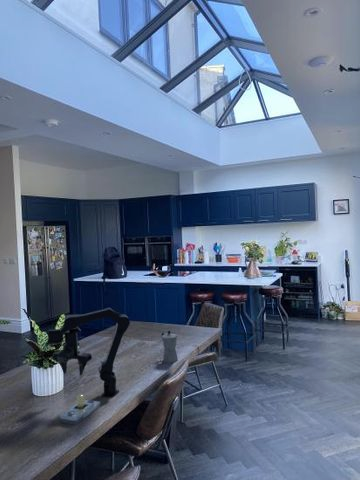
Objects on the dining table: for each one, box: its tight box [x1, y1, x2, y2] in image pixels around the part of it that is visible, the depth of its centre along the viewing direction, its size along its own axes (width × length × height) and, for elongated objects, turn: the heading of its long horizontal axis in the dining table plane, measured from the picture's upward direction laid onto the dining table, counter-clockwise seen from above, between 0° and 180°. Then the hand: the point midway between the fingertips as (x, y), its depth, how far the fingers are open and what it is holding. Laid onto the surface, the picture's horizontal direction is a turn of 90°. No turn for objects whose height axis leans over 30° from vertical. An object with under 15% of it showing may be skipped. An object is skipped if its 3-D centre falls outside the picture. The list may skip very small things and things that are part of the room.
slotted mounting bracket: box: [59, 399, 101, 426], centre depth 165 cm, size 18×8×4 cm, turn 159°
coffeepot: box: [161, 330, 178, 364], centre depth 229 cm, size 15×9×18 cm, turn 33°
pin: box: [76, 393, 85, 410], centre depth 165 cm, size 3×3×8 cm
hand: (72, 374), depth 179 cm, fingers open, 9 cm apart
